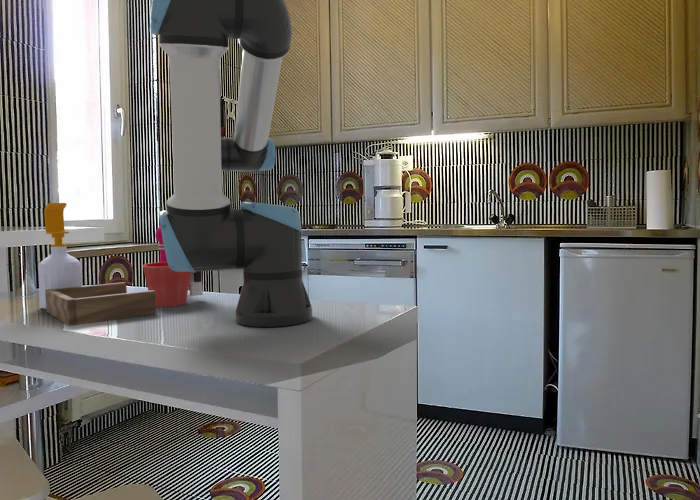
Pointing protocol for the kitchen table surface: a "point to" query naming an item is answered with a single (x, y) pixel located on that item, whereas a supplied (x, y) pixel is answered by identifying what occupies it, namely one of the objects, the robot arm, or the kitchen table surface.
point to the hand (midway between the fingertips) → (196, 294)
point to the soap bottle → (57, 256)
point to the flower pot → (166, 284)
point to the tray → (98, 303)
